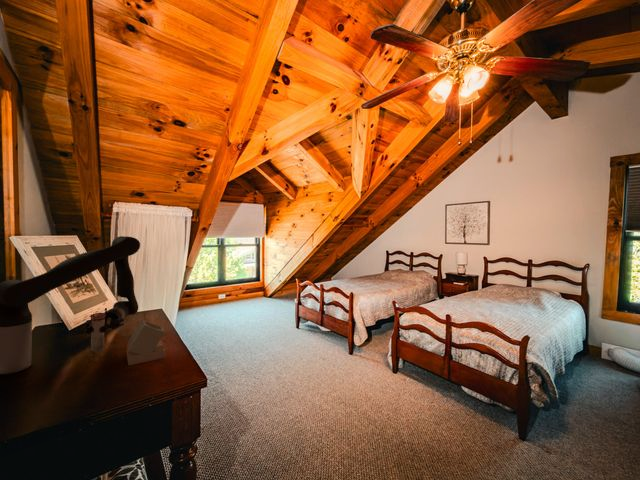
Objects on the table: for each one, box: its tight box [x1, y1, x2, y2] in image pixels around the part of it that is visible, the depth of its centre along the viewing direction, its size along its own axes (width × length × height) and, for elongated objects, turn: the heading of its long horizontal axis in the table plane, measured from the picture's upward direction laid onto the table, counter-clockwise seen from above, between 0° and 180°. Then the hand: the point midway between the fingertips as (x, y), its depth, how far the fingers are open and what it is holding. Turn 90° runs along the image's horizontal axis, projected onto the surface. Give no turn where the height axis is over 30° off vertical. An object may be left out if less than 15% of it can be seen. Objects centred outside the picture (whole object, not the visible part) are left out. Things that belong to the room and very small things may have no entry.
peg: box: [90, 312, 105, 352], centre depth 111 cm, size 4×4×14 cm
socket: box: [126, 319, 167, 366], centre depth 119 cm, size 13×11×15 cm
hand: (95, 330), depth 108 cm, fingers closed on peg, 4 cm apart
